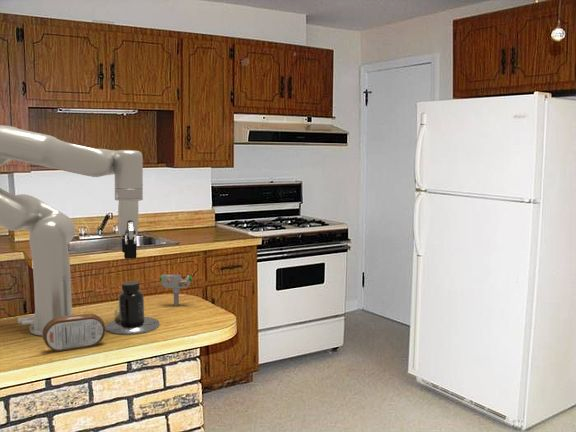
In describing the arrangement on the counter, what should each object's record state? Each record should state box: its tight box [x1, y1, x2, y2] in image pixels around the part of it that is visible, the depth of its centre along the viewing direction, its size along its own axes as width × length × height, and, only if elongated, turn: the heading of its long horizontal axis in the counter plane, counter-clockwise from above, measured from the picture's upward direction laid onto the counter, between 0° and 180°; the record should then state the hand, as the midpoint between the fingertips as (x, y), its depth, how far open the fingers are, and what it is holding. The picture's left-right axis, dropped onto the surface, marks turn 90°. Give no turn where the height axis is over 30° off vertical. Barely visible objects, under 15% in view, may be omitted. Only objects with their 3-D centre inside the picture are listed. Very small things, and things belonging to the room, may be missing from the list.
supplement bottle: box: [118, 281, 145, 327], centre depth 165 cm, size 7×7×12 cm
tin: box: [42, 313, 106, 352], centre depth 147 cm, size 15×3×8 cm, turn 118°
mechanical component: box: [158, 273, 193, 307], centre depth 187 cm, size 3×10×10 cm, turn 89°
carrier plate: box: [104, 308, 160, 336], centre depth 166 cm, size 15×15×4 cm
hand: (129, 255), depth 163 cm, fingers open, 9 cm apart
